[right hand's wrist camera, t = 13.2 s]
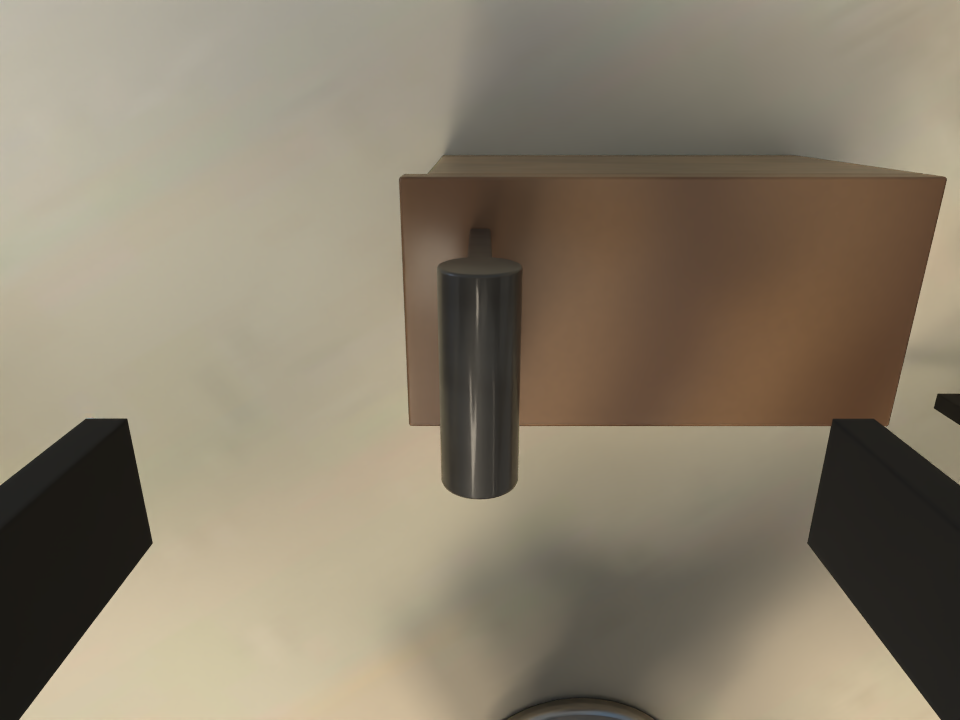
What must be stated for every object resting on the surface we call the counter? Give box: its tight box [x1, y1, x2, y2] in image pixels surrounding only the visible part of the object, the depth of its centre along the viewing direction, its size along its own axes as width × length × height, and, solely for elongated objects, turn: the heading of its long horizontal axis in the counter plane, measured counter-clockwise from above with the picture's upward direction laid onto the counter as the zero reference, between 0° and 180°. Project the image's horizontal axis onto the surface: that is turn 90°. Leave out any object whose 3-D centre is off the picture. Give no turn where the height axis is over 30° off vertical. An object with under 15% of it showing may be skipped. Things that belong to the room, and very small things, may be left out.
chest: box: [428, 155, 922, 174], centre depth 30 cm, size 17×9×10 cm, turn 90°
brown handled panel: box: [399, 174, 947, 499], centre depth 21 cm, size 18×9×9 cm, turn 90°
